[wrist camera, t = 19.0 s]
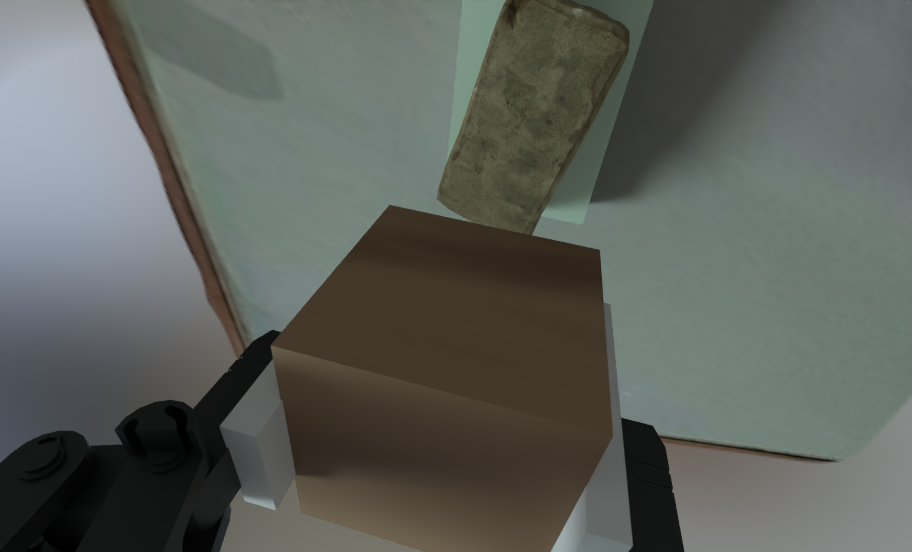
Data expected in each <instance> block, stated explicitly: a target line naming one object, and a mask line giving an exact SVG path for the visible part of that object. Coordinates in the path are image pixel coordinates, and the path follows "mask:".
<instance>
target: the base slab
mask: <svg viewBox="0 0 912 552" xmlns="http://www.w3.org/2000/svg"><path fill="white" fill-rule="evenodd" d="M505 1H506V0H463V4H462V14H461V24H460V34H459V44H458V54H457V64H456V73H455V83H454V93H453V103H452V113H451V123H450V133H449V143H448V153H447V161H448V158H449V155H450V153H451V150H452V148H453V146H454V143H455V141H456V139H457V136H458V134H459V131H460V128H461V125H462V122H463V119H464V116H465V113H466V111H467V108H468V105H469V101H470V98H471V95H472V92H473V89H474V86H475V83H476V80H477V77H478V74H479V71H480V68H481V65H482V62H483V60H484V57H485V54H486V51H487V48H488V45H489V42H490V39H491V36H492V33H493V30H494V28H495V25H496V22H497V19H498V17H499V14H500V12H501V9H502V7H503V4H504V3H505ZM572 1H574V2H575V3H578V4H581V5H585V6H589V7H592V8H595V9H597V10H599V11H601V12H603V13H605V14H606V15H608V16H609V17H610V18H612V19H614V20H617V21H620V22H621V23H622V24H624V25H625V26H626V27H627V28H628V30H629V31H630V42H629V51H628V54H627V57H626V59H625V62H624V64H623V66H622V68H621V70H620V71H619V73H618V75H617V77H616V79H615V81H614V83H613V84H612V86H611V88H610V90H609V92H608V94H607V96H606V98H605V100H604V102H603V104H602V106H601V108H600V110H599V112H598V114H597V116H596V118H595V120H594V122H593V124H592V125H591V127H590V129H589V131H588V133H587V135H586V136H585V138H584V140H583V142H582V144H581V145H580V147H579V149H578V151H577V153H576V154H575V156H574V158H573V160H572V162H571V163H570V165H569V167H568V169H567V170H566V172H565V174H564V176H563V177H562V179H561V181H560V183H559V185H558V187H557V188H556V190H555V192H554V194H553V196H552V198H551V200H550V202H549V204H548V205H547V206H546V208H545V210H544V211H543V213H542V215H541V217H546V218H551V219H556V220H560V221H565V222H570V223H575V224H580V225H582V224H583V221H584V218H585V215H586V212H587V209H588V206H589V202H590V199H591V196H592V193H593V190H594V187H595V184H596V181H597V177H598V174H599V171H600V168H601V165H602V162H603V159H604V156H605V153H606V149H607V146H608V143H609V140H610V137H611V134H612V131H613V128H614V124H615V121H616V118H617V115H618V112H619V109H620V106H621V103H622V99H623V96H624V93H625V90H626V87H627V84H628V81H629V78H630V75H631V71H632V68H633V65H634V62H635V59H636V56H637V53H638V50H639V46H640V43H641V40H642V37H643V34H644V31H645V28H646V25H647V21H648V18H649V15H650V12H651V9H652V6H653V3H654V0H572Z"/></svg>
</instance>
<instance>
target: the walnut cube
mask: <svg viewBox="0 0 912 552" xmlns="http://www.w3.org/2000/svg"><path fill="white" fill-rule="evenodd" d="M271 351H272V356H273V361H274V367H275V372H276V378H277V383H278V388H279V394H280V399H281V400H282V401H283V407H284V412H285V418H286V423H287V429H288V434H289V439H290V445H291V450H292V456H293V461H294V467H295V472H296V476H295V480H296V485H297V490H298V496H299V501H300V507H301V512H302V513H303V514H307V515H310V516H313V517H316V518H319V519H322V520H326V521H329V522H332V523H335V524H338V525H342V526H345V527H348V528H351V529H354V530H357V531H361V532H364V533H367V534H370V535H373V536H377V537H380V538H383V539H386V540H389V541H393V542H396V543H399V544H402V545H405V546H409V547H411V548H415V549H418V550H421V551H424V552H551V551H552V549H553V547H554V545H555V543H556V541H557V539H558V538H559V536H560V534H561V532H562V530H563V528H564V526H565V524H566V523H567V521H568V519H569V517H570V515H571V513H572V511H573V509H574V508H575V506H576V504H577V502H578V500H579V498H580V496H581V494H582V493H583V491H584V489H585V487H586V486H587V484H588V482H589V480H590V479H591V477H592V475H593V473H594V471H595V469H596V467H597V466H598V464H599V462H600V460H601V458H602V456H603V454H604V452H605V451H606V449H607V447H608V445H609V443H610V441H611V439H612V438H613V427H612V413H611V399H610V385H609V371H608V357H607V343H606V330H605V316H604V302H603V288H602V274H601V260H600V250H598V249H593V248H588V247H584V246H579V245H574V244H570V243H565V242H560V241H556V240H551V239H546V238H542V237H537V236H532V235H528V234H523V233H518V232H514V231H509V230H504V229H500V228H495V227H490V226H485V225H481V224H476V223H471V222H467V221H462V220H457V219H453V218H448V217H443V216H439V215H434V214H429V213H425V212H420V211H415V210H411V209H406V208H401V207H397V206H392V205H389V206H388V207H387V209H386V210H385V211H384V212H383V213H382V215H381V216H380V217H379V218H378V219H377V220H376V222H375V223H374V224H373V225H372V226H371V228H370V229H369V230H368V231H367V232H366V233H365V235H364V236H363V237H362V238H361V239H360V240H359V242H358V243H357V244H356V245H355V246H354V248H353V249H352V250H351V251H350V252H349V253H348V255H347V256H346V257H345V258H344V259H343V261H342V262H341V263H340V264H339V265H338V266H337V268H336V269H335V270H334V271H333V272H332V273H331V275H330V276H329V277H328V278H327V279H326V281H325V282H324V283H323V284H322V285H321V286H320V288H319V289H318V290H317V291H316V292H315V294H314V295H313V296H312V297H311V298H310V299H309V301H308V302H307V303H306V304H305V305H304V306H303V308H302V309H301V310H300V311H299V312H298V314H297V315H296V316H295V317H294V318H293V319H292V321H291V322H290V323H289V324H288V325H287V327H286V328H285V329H284V330H283V331H282V332H281V334H280V335H279V336H278V337H277V338H276V340H275V341H274V342H273V343H272V344H271Z"/></svg>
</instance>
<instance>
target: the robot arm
mask: <svg viewBox="0 0 912 552" xmlns="http://www.w3.org/2000/svg"><path fill="white" fill-rule="evenodd" d="M604 316H605V330H606V343H607V357H608V371H609V385H610V399H611V413H612V427H613V438H612V439H611V441H610V443H609V445H608V447H607V449H606V451H605V452H604V454H603V456H602V458H601V460H600V462H599V464H598V466H597V467H596V469H595V471H594V473H593V475H592V477H591V479H590V480H589V482H588V484H587V486H586V487H585V489H584V491H583V493H582V494H581V496H580V498H579V500H578V502H577V504H576V506H575V508H574V509H573V511H572V513H571V515H570V517H569V519H568V521H567V523H566V524H565V526H564V528H563V530H562V532H561V534H560V536H559V538H558V539H557V541H556V543H555V545H554V547H553V549H552V551H551V552H684V547H683V542H682V536H681V531H680V526H679V520H678V514H677V509H676V503H675V498H674V493H672V489H673V487H672V481H671V476H670V474H669V465H668V459H667V455H666V448H665V446H664V444H663V443H662V441H661V439H660V437H659V436H658V434H657V432H656V431H655V429H654V427H653V426H652V425H648V424H644V423H640V422H636V421H632V420H628V419H624V418H621V413H620V403H619V392H618V381H617V371H616V360H615V350H614V339H613V328H612V318H611V307H610V304H606V303H604ZM280 334H281V332H279V331H275V330H271V331H269V332H268V333H266V334H264V335H263V336H261V337H259V338H258V339H256V340H254V341H253V342H252V343H251V344H250V345H249V347H248V348H247V349H246V350H245V351H244V352H243V353H242V354H241V356H240V358H239V360H236V361H235V362H234V363H233V365H232V366H231V367H230V368H229V369H228V372H227V373H225V374H224V375H223V376H222V377H221V378H220V379H219V380H218V381H217V383H216V384H215V385H214V386H213V387H212V388H211V389H210V391H209V392H208V393H207V394H206V395H205V396H204V397H203V398H202V399H201V401H200V402H199V403H198V404H197V405H196V406H195V407H194V409H192V408H191V407H190V406H188V405H187V404H185V403H184V402H179V401H174V400H167V401H159V402H154V403H151V404H149V405H146V406H144V407H141V408H139V409H137V410H136V411H134V412H133V413H131V414H130V415H128V416H127V417H126V418H125V419H124V420H123V421H122V422H121V423H120V424H119V425H118V426H117V428H116V429H115V432H116V433H117V435H118V437H119V439H120V440H121V442H122V444H123V445H99V446H90V445H89V444H88V442H87V440H86V439H85V437H84V436H83V435H81V434H79V433H77V432H74V431H56V432H52V433H48V434H44V435H41V436H39V437H37V438H35V439H33V440H31V441H28V442H26V443H25V444H24V445H22V446H21V447H19V448H18V449H17V450H15V451H14V452H13V453H11V454H10V455H9V456H8V457H6V458H5V459H4V460H3V461H2V462H1V463H0V552H219V551H220V548H221V545H222V542H223V539H224V536H225V533H226V530H227V527H228V524H229V521H230V514H231V508H230V505H229V504H230V503H231V501H232V500H233V498H234V497H235V495H236V494H237V492H238V491H239V489H240V488H241V491H242V494H243V497H244V500H245V501H247V502H251V503H254V504H257V505H260V506H263V507H267V508H270V509H273V510H277V508H278V506H279V504H280V503H281V501H282V499H283V497H284V495H285V494H286V492H287V490H288V489H289V487H290V485H291V483H292V481H293V480H294V478H295V476H296V472H295V467H294V461H293V456H292V450H291V445H290V439H289V434H288V429H287V423H286V418H285V412H284V407H283V401H282V400H281V399H280V394H279V388H278V383H277V378H276V372H275V367H274V361H273V356H272V351H271V344H272V343H273V342H274V341H275V340H276V338H277V337H278V336H279V335H280Z"/></svg>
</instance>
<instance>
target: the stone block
mask: <svg viewBox="0 0 912 552" xmlns="http://www.w3.org/2000/svg"><path fill="white" fill-rule="evenodd" d="M629 42H630V31H629V30H628V28H627V27H626V26H625V25H624V24H622V23H621V22H620V21H617V20H614V19H612V18H610V17H609V16H608V15H606V14H605V13H603V12H601V11H599V10H597V9H595V8H592V7H589V6H585V5H581V4H578V3H575V2H574V1H572V0H506V1H505V3H504V4H503V7H502V9H501V12H500V14H499V17H498V19H497V22H496V25H495V28H494V30H493V33H492V36H491V39H490V42H489V45H488V48H487V51H486V54H485V57H484V60H483V62H482V65H481V68H480V71H479V74H478V77H477V80H476V83H475V86H474V89H473V92H472V95H471V98H470V101H469V105H468V108H467V111H466V113H465V116H464V119H463V122H462V125H461V128H460V131H459V134H458V136H457V139H456V141H455V143H454V146H453V148H452V150H451V153H450V155H449V158H448V161H447V163H446V166H445V170H444V173H443V176H442V179H441V182H440V185H439V188H438V195H437V200H439V201H440V202H441V203H442V204H443V205H444V206H446V207H447V208H448V209H450V210H451V211H453V212H455V213H457V214H458V215H460V216H462V217H464V218H466V219H468V220H469V221H471V222H473V223H476V224H481V225H485V226H490V227H495V228H500V229H504V230H509V231H514V232H518V233H523V234H528V235H532V234H533V231H534V229H535V227H536V225H537V223H538V221H539V219H540V217H541V215H542V213H543V211H544V210H545V208H546V206H547V205H548V204H549V202H550V200H551V198H552V196H553V194H554V192H555V190H556V188H557V187H558V185H559V183H560V181H561V179H562V177H563V176H564V174H565V172H566V170H567V169H568V167H569V165H570V163H571V162H572V160H573V158H574V156H575V154H576V153H577V151H578V149H579V147H580V145H581V144H582V142H583V140H584V138H585V136H586V135H587V133H588V131H589V129H590V127H591V125H592V124H593V122H594V120H595V118H596V116H597V114H598V112H599V110H600V108H601V106H602V104H603V102H604V100H605V98H606V96H607V94H608V92H609V90H610V88H611V86H612V84H613V83H614V81H615V79H616V77H617V75H618V73H619V71H620V70H621V68H622V66H623V64H624V62H625V59H626V57H627V54H628V51H629Z"/></svg>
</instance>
